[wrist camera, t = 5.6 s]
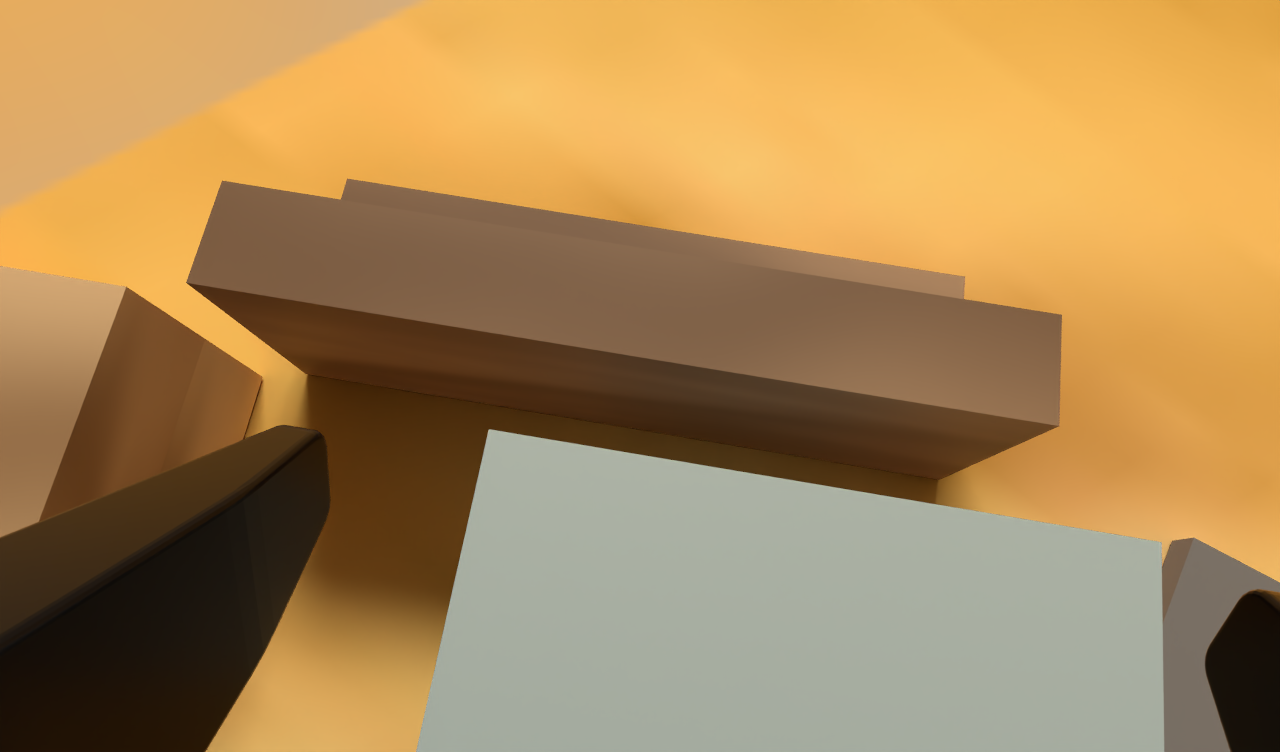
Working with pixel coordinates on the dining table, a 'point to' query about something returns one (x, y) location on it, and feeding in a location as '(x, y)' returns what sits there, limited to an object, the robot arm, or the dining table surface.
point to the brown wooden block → (633, 325)
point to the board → (781, 618)
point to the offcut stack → (102, 394)
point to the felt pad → (1197, 637)
